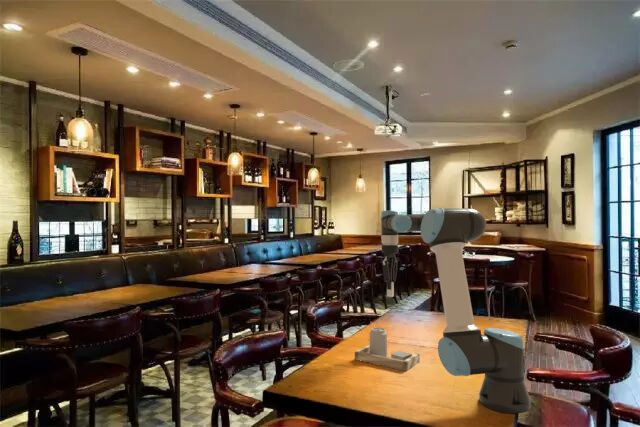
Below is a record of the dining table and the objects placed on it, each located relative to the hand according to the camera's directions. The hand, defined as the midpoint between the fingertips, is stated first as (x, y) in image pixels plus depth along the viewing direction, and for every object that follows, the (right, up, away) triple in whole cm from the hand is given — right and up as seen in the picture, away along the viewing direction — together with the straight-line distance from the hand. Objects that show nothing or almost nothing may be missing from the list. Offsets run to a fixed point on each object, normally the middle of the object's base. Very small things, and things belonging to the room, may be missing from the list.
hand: (390, 296), depth 193 cm
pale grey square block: (+2, -24, -18) cm, 30 cm away
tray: (-4, -24, -15) cm, 29 cm away
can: (-7, -25, -9) cm, 27 cm away
